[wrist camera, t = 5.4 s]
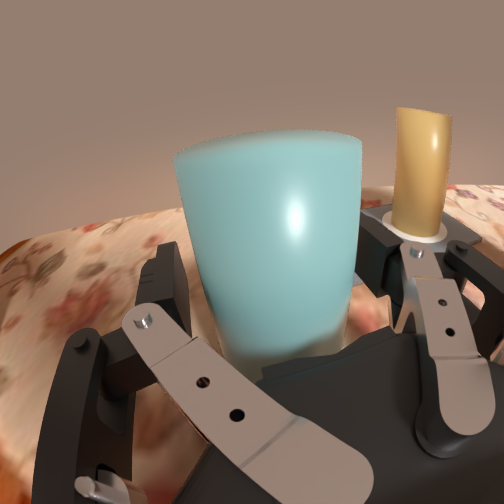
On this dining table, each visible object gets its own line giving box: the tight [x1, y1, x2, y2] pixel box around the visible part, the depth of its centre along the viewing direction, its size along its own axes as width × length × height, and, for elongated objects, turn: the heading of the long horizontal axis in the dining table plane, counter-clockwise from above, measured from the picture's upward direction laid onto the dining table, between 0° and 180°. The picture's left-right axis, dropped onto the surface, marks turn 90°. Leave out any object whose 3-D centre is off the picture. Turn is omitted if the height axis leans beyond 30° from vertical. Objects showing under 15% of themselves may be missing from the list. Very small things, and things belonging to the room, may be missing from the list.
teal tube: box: [173, 129, 362, 383], centre depth 10 cm, size 5×5×11 cm
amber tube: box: [391, 107, 452, 237], centre depth 20 cm, size 5×5×11 cm
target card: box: [352, 204, 482, 286], centre depth 23 cm, size 24×10×1 cm, turn 103°
